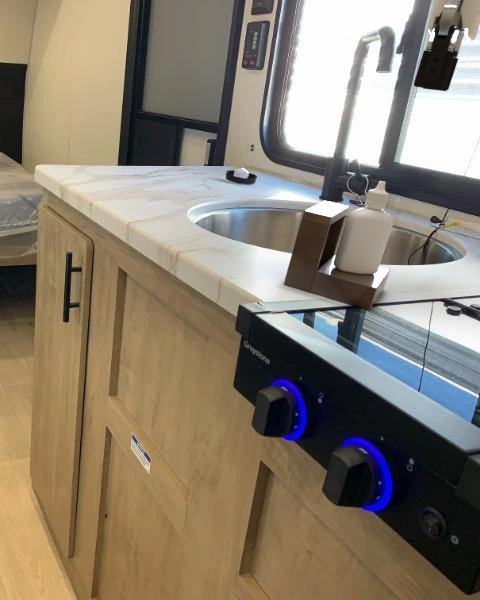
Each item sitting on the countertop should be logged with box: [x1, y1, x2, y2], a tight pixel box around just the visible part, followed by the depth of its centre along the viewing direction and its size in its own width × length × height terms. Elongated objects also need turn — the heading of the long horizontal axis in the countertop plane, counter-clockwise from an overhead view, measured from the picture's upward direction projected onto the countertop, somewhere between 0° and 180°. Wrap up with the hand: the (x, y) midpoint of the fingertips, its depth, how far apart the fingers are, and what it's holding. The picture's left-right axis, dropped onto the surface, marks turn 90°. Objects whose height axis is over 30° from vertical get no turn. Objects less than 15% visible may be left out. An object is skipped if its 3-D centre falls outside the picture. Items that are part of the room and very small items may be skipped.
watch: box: [225, 167, 258, 185], centre depth 152 cm, size 8×5×4 cm, turn 77°
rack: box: [283, 200, 391, 311], centre depth 80 cm, size 11×11×10 cm
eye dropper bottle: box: [333, 180, 394, 274], centre depth 78 cm, size 4×6×12 cm
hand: (431, 88), depth 75 cm, fingers open, 9 cm apart
